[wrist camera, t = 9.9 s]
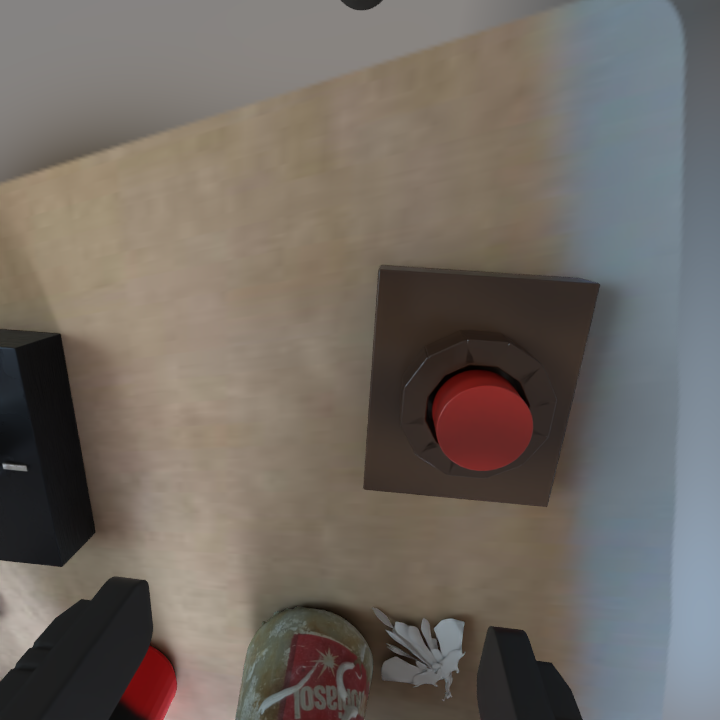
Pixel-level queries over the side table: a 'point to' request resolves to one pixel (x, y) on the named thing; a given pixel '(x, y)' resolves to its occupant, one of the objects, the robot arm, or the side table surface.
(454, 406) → the button
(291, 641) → the bottle
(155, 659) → the soda can
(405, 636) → the flower
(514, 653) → the robot arm
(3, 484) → the panel
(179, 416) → the side table surface
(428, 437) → the button block
